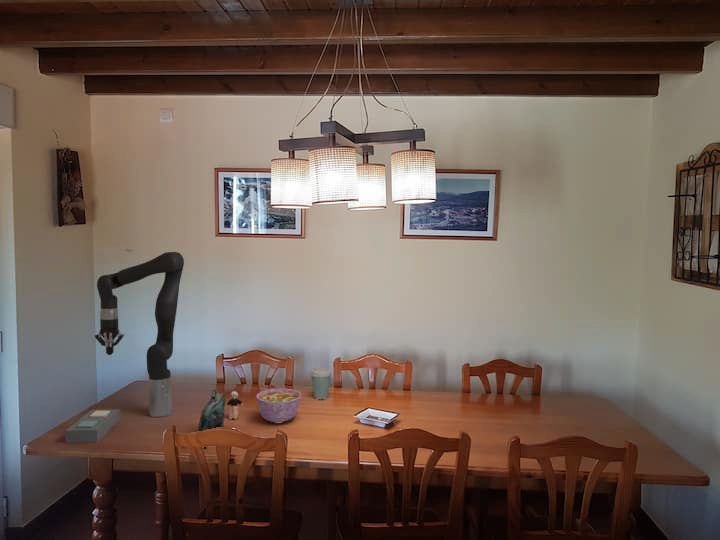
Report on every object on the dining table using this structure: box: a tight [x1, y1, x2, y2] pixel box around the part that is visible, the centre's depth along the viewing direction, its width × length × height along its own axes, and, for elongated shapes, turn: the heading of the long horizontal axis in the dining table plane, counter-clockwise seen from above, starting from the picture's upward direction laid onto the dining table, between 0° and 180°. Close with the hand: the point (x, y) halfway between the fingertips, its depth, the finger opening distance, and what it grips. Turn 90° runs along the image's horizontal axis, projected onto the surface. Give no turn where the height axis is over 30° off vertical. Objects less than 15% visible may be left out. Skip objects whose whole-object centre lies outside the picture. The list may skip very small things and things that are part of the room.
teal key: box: [77, 421, 99, 428], centre depth 213 cm, size 6×6×3 cm
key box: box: [65, 408, 121, 444], centre depth 219 cm, size 12×24×5 cm, turn 4°
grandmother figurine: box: [225, 391, 244, 420], centre depth 236 cm, size 8×4×13 cm, turn 118°
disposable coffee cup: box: [310, 367, 332, 399], centre depth 267 cm, size 11×11×15 cm
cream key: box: [90, 411, 110, 417], centre depth 225 cm, size 6×6×3 cm
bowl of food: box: [255, 388, 302, 423], centre depth 235 cm, size 20×20×12 cm
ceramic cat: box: [198, 389, 226, 432], centre depth 212 cm, size 20×6×20 cm, turn 174°
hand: (109, 354), depth 241 cm, fingers closed
